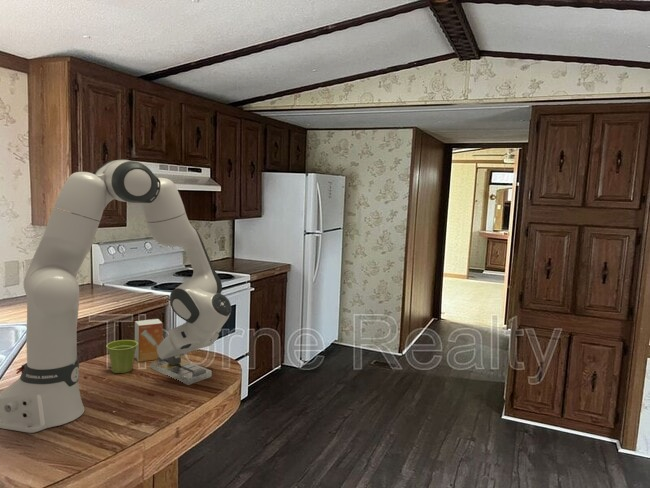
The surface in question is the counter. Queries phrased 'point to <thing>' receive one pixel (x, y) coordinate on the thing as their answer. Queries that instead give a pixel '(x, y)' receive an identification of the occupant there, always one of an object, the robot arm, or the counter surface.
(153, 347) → the small box
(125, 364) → the plant pot
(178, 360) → the fader knob
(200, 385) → the counter surface
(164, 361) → the fader console
